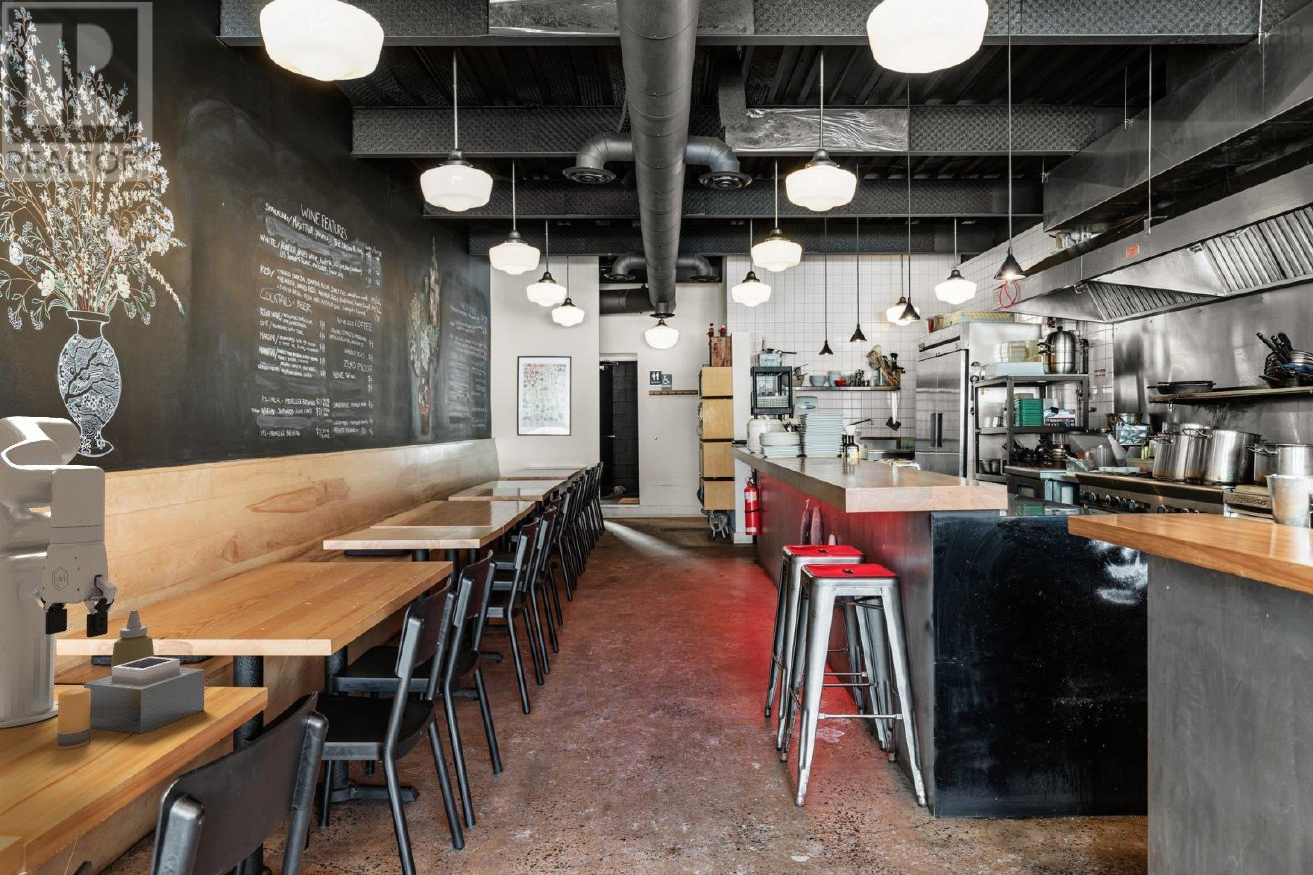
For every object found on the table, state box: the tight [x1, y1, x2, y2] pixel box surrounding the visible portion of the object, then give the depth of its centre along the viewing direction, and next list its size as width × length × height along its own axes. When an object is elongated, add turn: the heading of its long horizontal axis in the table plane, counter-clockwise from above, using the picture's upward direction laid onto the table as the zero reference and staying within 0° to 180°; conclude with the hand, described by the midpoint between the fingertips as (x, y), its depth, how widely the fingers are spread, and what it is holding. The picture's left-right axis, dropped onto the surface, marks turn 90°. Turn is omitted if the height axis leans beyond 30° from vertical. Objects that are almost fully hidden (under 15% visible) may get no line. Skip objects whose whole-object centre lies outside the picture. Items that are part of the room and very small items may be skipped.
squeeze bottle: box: [109, 609, 155, 676], centre depth 151 cm, size 8×8×18 cm
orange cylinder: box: [56, 687, 91, 750], centre depth 125 cm, size 4×4×9 cm
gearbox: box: [83, 656, 206, 735], centre depth 138 cm, size 14×13×10 cm
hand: (76, 634), depth 126 cm, fingers open, 9 cm apart
